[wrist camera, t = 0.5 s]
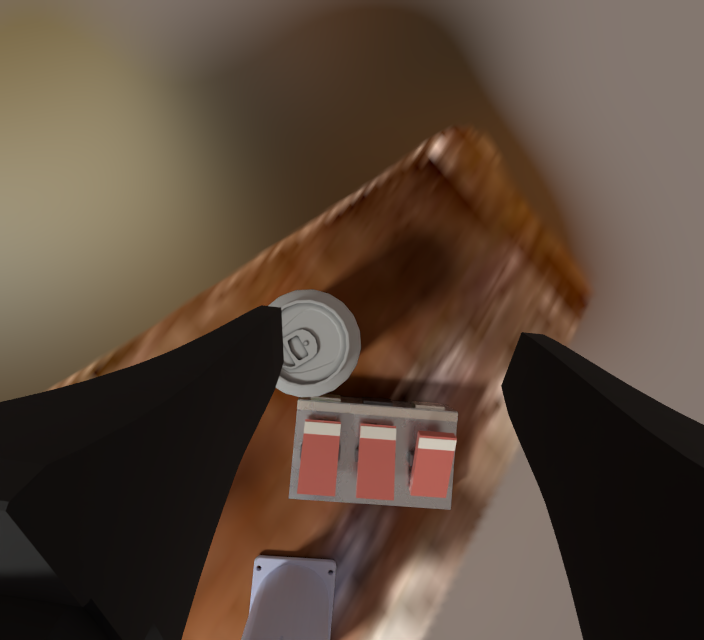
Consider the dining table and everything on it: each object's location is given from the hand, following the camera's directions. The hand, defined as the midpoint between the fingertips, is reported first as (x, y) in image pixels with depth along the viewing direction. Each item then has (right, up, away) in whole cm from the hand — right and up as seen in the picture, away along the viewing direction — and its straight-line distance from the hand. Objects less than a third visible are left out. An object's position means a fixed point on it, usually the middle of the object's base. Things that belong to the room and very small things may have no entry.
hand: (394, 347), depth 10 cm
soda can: (-5, -1, +24) cm, 24 cm away
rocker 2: (+1, -12, +19) cm, 22 cm away
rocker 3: (+6, -12, +19) cm, 23 cm away
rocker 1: (-4, -11, +19) cm, 22 cm away
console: (+1, -12, +23) cm, 26 cm away
